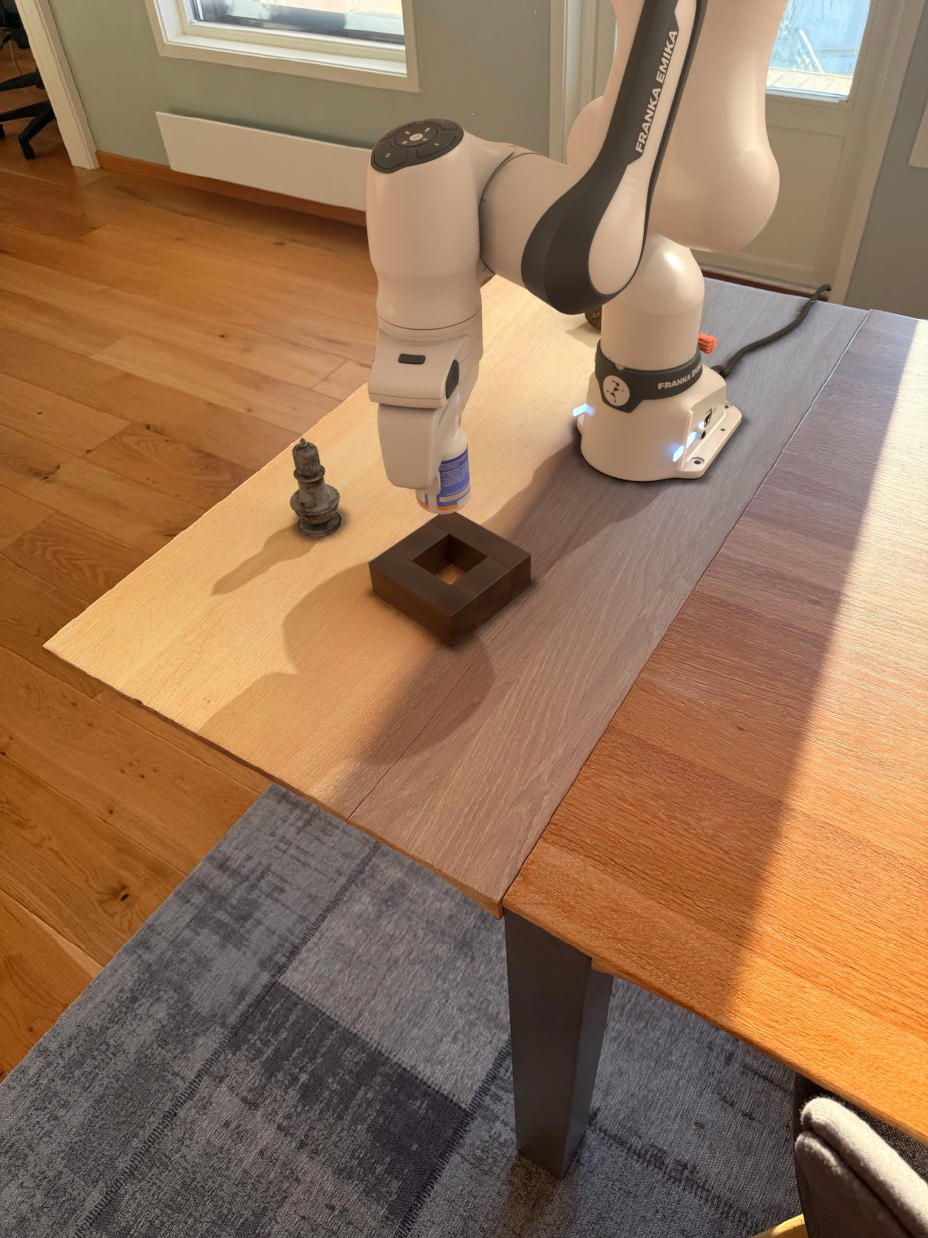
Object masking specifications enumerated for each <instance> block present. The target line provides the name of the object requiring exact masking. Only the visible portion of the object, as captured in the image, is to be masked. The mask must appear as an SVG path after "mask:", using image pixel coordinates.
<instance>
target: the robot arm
mask: <svg viewBox="0 0 928 1238" xmlns="http://www.w3.org/2000/svg"><path fill="white" fill-rule="evenodd" d="M607 1H608V3H609V5H610V6H611V8H612V10H613V13H614V16H615V22H616V30H617V39H616V49H615V53H614V58H613V61H612V65H611V67H610V73H609V75H608V79H607V83H606V86H605V89H604V93H603V95H601V96H598V97H596V98H595V99H593V100H592V101H590V102H589V103H588V104H587V105H585V106H584V107H583V108H582V110H581V111H580V113H579V114H578V115H577V116H576V118H575V120H574V122H573V124H572V126H571V129H570V132H569V134H568V138H567V143H566V149H565V150H566V151H565V152H566V154H565V156H566V157H565V158H566V163H563V162H562V161H558V160H555V159H552V158H549V157H548V156H545V155H543V154H541V153H539V152H537V151H533V150H532V149H531V150H530V149H528V148H525V147H521V146H519V145H515V144H514V143H509V142H503V141H502V142H501V141H491V140H490V141H489V140H487V139H484V138H481V137H479V136H476V135H475V134H472V133H470V132H468V131H466V130H465V128H464V127H462V125H460V124H459V123H457V122H456V121H453V120H450V119H445V118H427V119H420V120H411V121H409V122H405V123H403V124H400V125H398V126H396V127H394V128H392V129H391V130H389V131H387V133H385V134H384V135H383V136H381V137H380V139H378V140H377V142H375V144H374V145H373V147H372V149H371V151H370V153H369V157H368V161H367V166H366V172H365V185H364V204H365V205H364V206H365V223H366V233H367V240H368V241H367V242H368V243H367V244H368V251H369V258H370V262H371V265H372V267H373V269H374V271H375V274H376V278H377V292H376V297H375V311H376V318H377V326H378V329H377V330H376V346H375V352H374V356H373V360H372V364H371V368H370V371H369V375H368V379H367V394H368V398H369V401H370V402H371V403H376V404H378V405H377V411H376V412H377V414H376V423H377V424H376V425H377V433H378V438H379V445H380V450H381V457H382V462H383V466H384V471H385V475H386V479H387V480H388V481H389V482H390V483H391V484H392V485H393V486H394V487H396V488H399V489H400V488H401V489H409V490H415V489H418V490H421V491H422V493H424V494H428V495H438V494H439V492H440V490H441V488H442V485H443V474H442V471H439V466H440V464H441V462H442V459H443V457H444V455H445V452H446V450H447V448H448V445H449V443H450V441H451V438H452V436H453V434H454V430H455V419H456V416H457V415H458V422H459V427H460V428H461V424H462V419H463V413H464V410H465V409H466V406H467V403H468V402H469V399H470V397H471V395H472V392H473V390H474V388H475V385H476V383H477V381H478V378H479V373H480V362H481V360H482V358H483V355H484V333H483V331H484V329H483V299H482V292H481V286H482V284H483V282H484V281H485V280H486V279H488V278H491V277H493V276H495V275H497V276H498V277H500V278H503V279H505V280H507V281H509V282H510V283H513V284H515V285H517V286H519V287H521V288H523V289H525V290H527V291H528V292H529V293H530V294H532V295H533V296H535V297H536V298H537V299H539V300H540V301H542V302H543V303H545V304H546V305H548V306H549V307H551V308H552V309H554V310H555V311H557V312H559V313H561V314H563V315H566V316H578V315H583V314H585V313H586V312H589V311H591V310H594V309H596V308H598V307H600V306H602V321H601V329H600V338H599V340H598V341H597V344H596V349H595V353H594V362H593V363H594V371H593V372H591V374H590V375H589V378H588V385H587V392H586V398H585V404H583V405H580V406H578V407H576V408H574V409H573V410H572V411H573V413H572V415H573V416H574V417H576V416H578V417H577V421H576V428H577V429H578V431H579V433H580V435H581V439H580V450H581V451H580V452H581V454H582V456H583V458H584V459H585V460H586V462H587V463H588V464H589V465H590V466H592V467H593V468H594V469H596V470H597V471H599V472H601V473H603V474H605V475H607V476H610V477H614V478H616V479H620V480H621V479H622V480H626V481H634V482H652V481H653V482H654V481H659V480H666V479H672V478H674V479H675V478H676V479H678V478H679V479H699V478H701V477H702V476H703V475H704V474H705V472H706V471H707V470H708V469H709V467H710V465H711V464H712V463H713V462H714V460H715V459H716V458H717V456H718V454H719V453H720V452H721V451H722V449H723V448H724V446H725V445H726V443H727V442H728V441H729V439H730V438H731V437H732V435H733V434H734V432H736V430H737V428H738V427H739V426H740V424H741V422H742V418H743V417H742V416H743V414H742V412H741V411H740V410H739V409H738V408H737V407H736V406H735V405H734V404H732V403H731V402H730V401H728V400H727V393H728V386H727V383H726V380H725V379H724V377H727V376H729V375H730V373H731V372H732V371H733V369H734V368H735V366H736V365H737V363H738V362H739V360H740V359H741V358H742V357H743V356H744V355H746V354H747V353H749V352H751V351H753V350H755V349H758V348H760V347H763V346H765V345H767V344H770V343H772V342H774V341H776V340H778V339H779V338H781V337H783V336H785V335H786V334H788V333H790V332H791V331H792V330H794V329H795V328H797V327H799V325H800V324H801V323H802V322H803V321H804V320H805V319H806V318H807V316H808V314H809V313H810V310H811V308H812V306H813V305H814V303H815V302H817V300H818V299H819V297H820V296H821V295H822V294H823V293H824V292H825V291H826V292H832V290H833V289H832V286H831V284H829V283H823V284H822V285H821V286H820V287H818V288H817V290H815V292H814V293H813V294H812V296H811V297H810V298H809V299H808V300H810V301H808V300H807V301H806V303H805V305H804V306H803V309H802V310H801V313H800V314H799V315H798V317H797V318H796V319H794V320H793V321H792V322H790V323H789V324H788V325H786V326H785V327H783V328H781V329H779V330H778V331H776V332H774V333H772V334H770V335H768V336H765V337H764V338H761V339H759V340H756V341H754V342H751V343H749V344H746V345H745V346H743V347H742V348H741V349H739V350H737V352H736V353H734V355H733V356H732V357H731V359H730V360H729V362H728V364H727V365H726V367H724V366H723V365H721V364H717V365H713V366H711V367H709V366H708V365H706V364H704V363H703V361H702V353H701V352H703V353H704V354H706V355H711V354H712V353H713V352H714V350H715V349H716V347H717V341H718V340H717V338H716V337H715V336H711V335H707V334H705V333H700V327H701V322H702V315H703V307H704V301H705V295H706V285H705V280H704V276H703V272H702V270H701V267H700V265H699V264H698V263H697V261H696V259H695V256H694V255H693V253H692V251H691V249H692V250H696V251H701V252H708V253H713V254H714V253H715V254H721V255H726V254H732V253H736V252H737V251H739V250H741V249H743V248H744V247H746V246H747V245H749V244H750V243H751V242H752V241H754V240H755V238H757V236H759V235H760V233H761V232H762V231H763V230H764V228H766V225H767V224H768V222H769V221H770V219H771V217H772V215H773V213H774V210H775V208H776V205H777V203H778V202H777V201H778V198H779V197H778V196H779V194H780V193H779V192H780V182H781V181H780V180H781V179H780V169H779V166H778V163H777V160H776V158H775V156H774V154H773V151H772V148H771V145H770V142H769V137H768V132H767V123H766V94H767V93H766V92H767V91H766V90H767V80H768V74H769V73H768V72H769V67H770V60H771V57H772V52H773V48H774V44H775V42H776V37H777V35H778V32H779V30H780V26H781V23H782V20H783V17H784V13H785V12H786V11H785V10H786V8H787V5H788V2H789V0H607ZM811 301H812V302H811ZM813 301H815V302H813Z"/></svg>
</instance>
